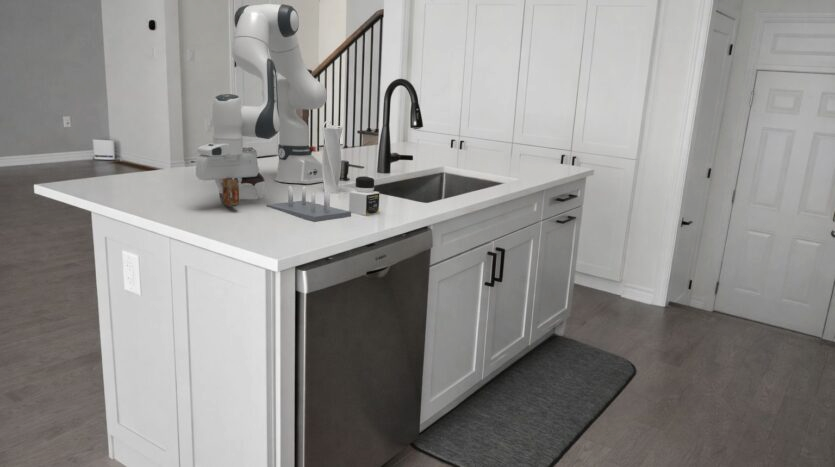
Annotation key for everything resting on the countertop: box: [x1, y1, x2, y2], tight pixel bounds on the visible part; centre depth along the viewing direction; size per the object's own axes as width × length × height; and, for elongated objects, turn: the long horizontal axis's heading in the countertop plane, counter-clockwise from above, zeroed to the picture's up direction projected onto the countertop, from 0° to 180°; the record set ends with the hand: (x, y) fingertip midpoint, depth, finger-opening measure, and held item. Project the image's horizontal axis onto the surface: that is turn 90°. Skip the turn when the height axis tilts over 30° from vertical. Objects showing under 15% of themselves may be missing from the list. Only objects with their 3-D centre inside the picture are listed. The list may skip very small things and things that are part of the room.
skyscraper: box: [321, 120, 343, 195], centre depth 230 cm, size 8×8×28 cm
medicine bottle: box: [348, 175, 380, 217], centre depth 205 cm, size 7×7×12 cm
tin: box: [217, 178, 240, 208], centre depth 196 cm, size 15×3×8 cm, turn 32°
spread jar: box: [239, 166, 266, 201], centre depth 214 cm, size 12×11×12 cm
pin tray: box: [265, 185, 352, 223], centre depth 201 cm, size 15×24×8 cm, turn 49°
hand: (228, 192), depth 196 cm, fingers closed on tin, 3 cm apart
